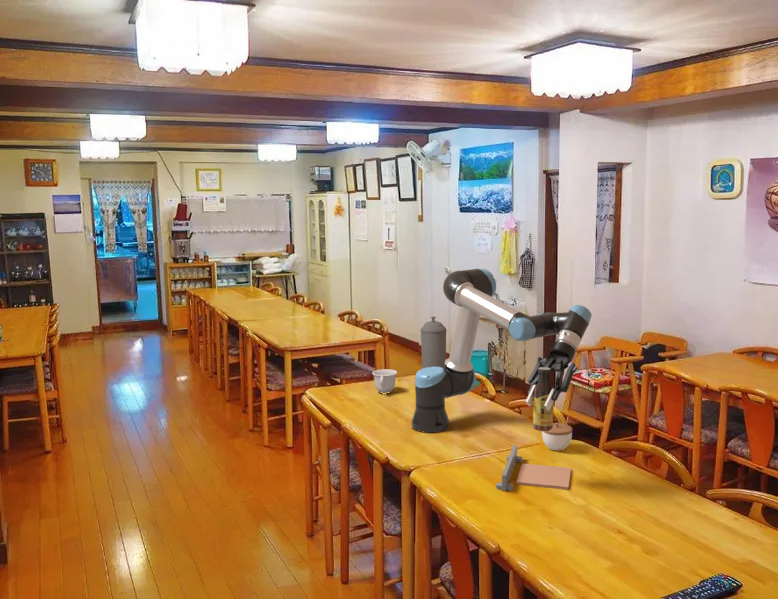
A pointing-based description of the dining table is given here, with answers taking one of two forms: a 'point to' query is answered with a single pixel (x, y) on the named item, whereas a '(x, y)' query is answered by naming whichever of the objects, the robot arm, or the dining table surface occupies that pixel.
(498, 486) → the grey wall
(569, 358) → the robot arm
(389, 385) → the teacup
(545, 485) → the terracotta tile
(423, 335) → the canister
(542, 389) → the sauce bottle
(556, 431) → the lidded jar
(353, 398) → the dining table surface
